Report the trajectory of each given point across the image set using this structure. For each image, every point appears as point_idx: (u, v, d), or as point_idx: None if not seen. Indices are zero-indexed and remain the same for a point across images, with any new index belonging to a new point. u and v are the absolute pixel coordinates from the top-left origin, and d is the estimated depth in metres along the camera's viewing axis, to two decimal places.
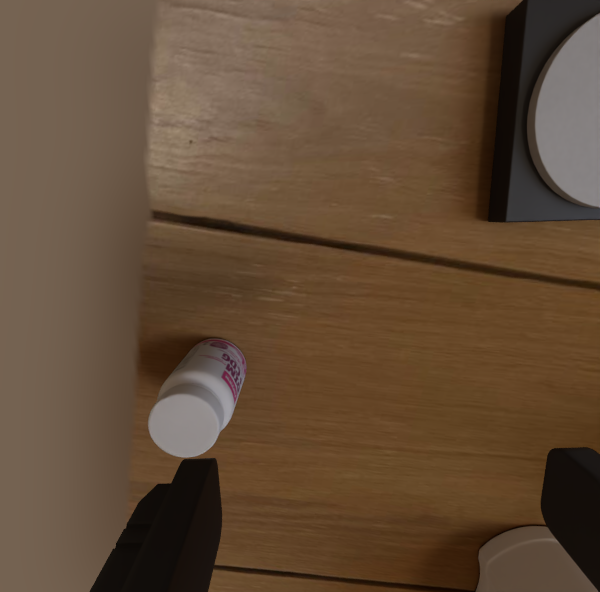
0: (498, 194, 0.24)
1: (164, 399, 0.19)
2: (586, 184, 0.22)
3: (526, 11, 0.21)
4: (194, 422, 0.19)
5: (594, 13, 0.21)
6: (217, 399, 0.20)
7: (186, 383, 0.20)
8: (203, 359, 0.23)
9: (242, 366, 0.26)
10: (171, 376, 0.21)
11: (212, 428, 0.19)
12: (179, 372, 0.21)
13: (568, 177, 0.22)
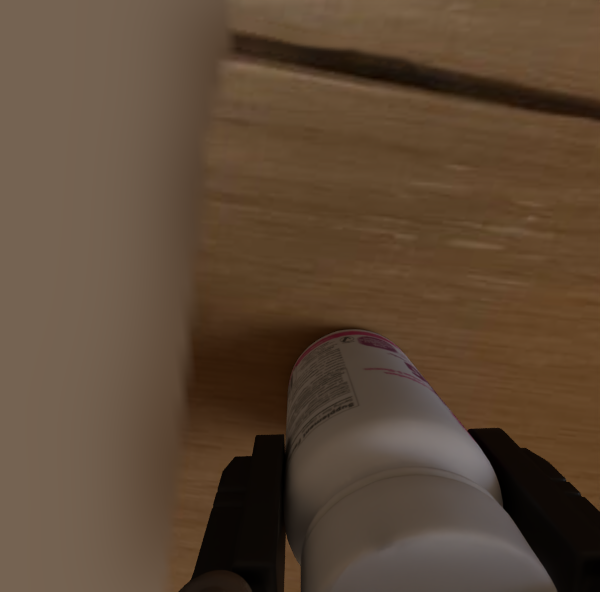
0: None
1: (380, 553, 0.05)
2: None
3: None
4: None
5: None
6: None
7: (409, 471, 0.06)
8: (387, 379, 0.09)
9: None
10: (330, 435, 0.07)
11: None
12: (354, 422, 0.07)
13: None
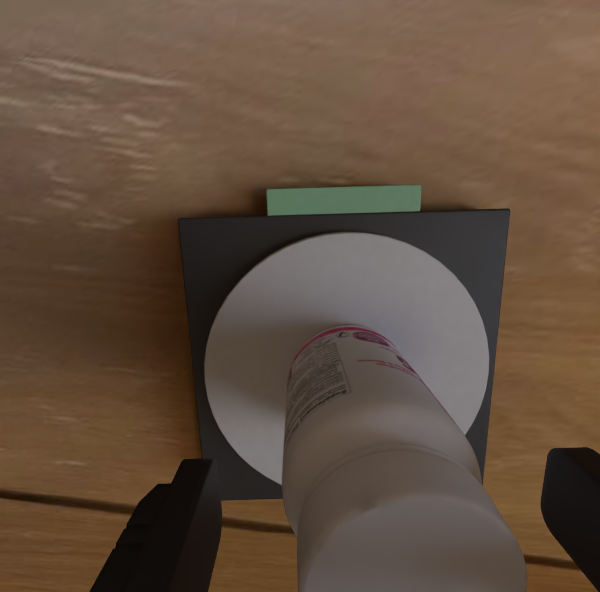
0: None
1: (365, 513, 0.06)
2: None
3: (182, 238, 0.14)
4: (454, 584, 0.06)
5: (283, 241, 0.14)
6: (485, 492, 0.07)
7: (394, 447, 0.07)
8: (378, 369, 0.09)
9: None
10: (325, 418, 0.08)
11: None
12: (346, 406, 0.08)
13: (271, 461, 0.15)
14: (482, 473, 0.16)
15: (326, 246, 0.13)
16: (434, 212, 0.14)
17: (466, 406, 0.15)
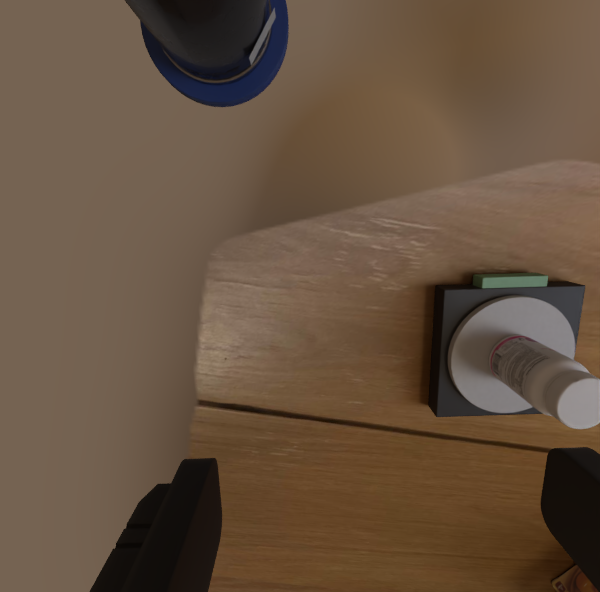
0: (432, 394, 0.35)
1: (576, 382, 0.24)
2: (486, 399, 0.34)
3: (444, 297, 0.32)
4: (595, 401, 0.24)
5: (487, 299, 0.32)
6: None
7: (574, 370, 0.25)
8: (552, 351, 0.28)
9: None
10: (545, 365, 0.26)
11: None
12: (552, 361, 0.26)
13: (474, 395, 0.33)
14: None
15: (510, 302, 0.31)
16: (553, 287, 0.32)
17: None
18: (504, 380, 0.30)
